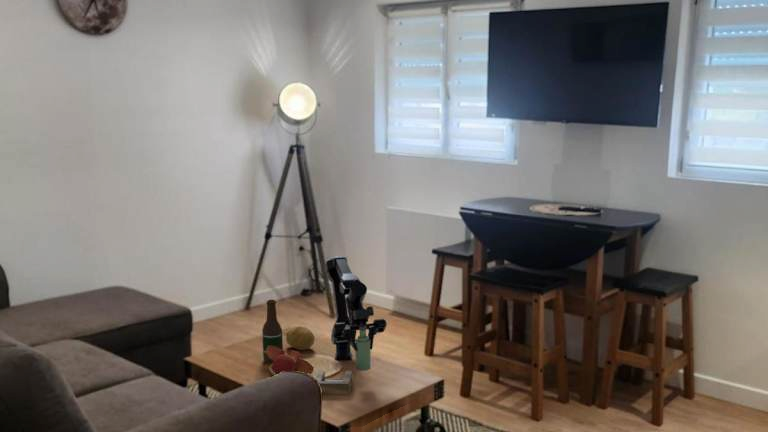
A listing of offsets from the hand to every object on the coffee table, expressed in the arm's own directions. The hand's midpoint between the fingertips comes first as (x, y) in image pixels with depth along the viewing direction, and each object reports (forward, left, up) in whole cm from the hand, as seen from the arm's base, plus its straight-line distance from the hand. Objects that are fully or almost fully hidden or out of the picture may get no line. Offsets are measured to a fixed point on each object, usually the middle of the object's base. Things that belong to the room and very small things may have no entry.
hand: (363, 349), depth 246 cm
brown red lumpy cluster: (-14, -28, -14) cm, 34 cm away
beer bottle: (-28, -36, -14) cm, 47 cm away
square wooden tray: (0, -11, -13) cm, 17 cm away
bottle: (-1, 0, -7) cm, 7 cm away
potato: (-42, -27, -14) cm, 51 cm away
